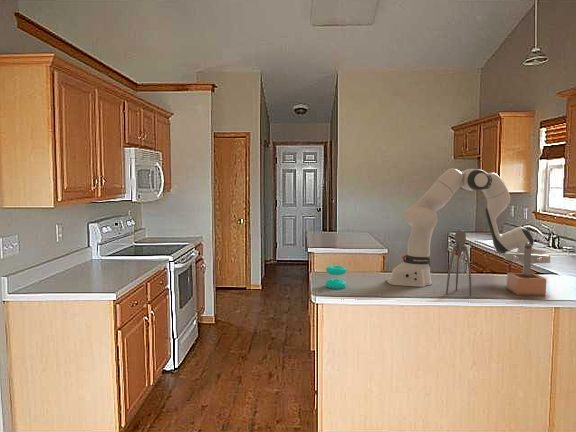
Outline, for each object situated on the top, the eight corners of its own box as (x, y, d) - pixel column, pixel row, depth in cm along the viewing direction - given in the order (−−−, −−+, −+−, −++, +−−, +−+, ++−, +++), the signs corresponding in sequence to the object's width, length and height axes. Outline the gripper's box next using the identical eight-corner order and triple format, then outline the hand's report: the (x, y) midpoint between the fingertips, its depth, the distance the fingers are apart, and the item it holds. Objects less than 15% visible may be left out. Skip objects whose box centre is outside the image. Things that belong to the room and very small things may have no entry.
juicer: (471, 295, 241) (474, 231, 238) (446, 294, 244) (448, 230, 241) (468, 291, 251) (471, 228, 248) (444, 289, 253) (446, 227, 250)
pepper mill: (519, 290, 248) (522, 243, 246) (519, 288, 253) (522, 241, 251) (531, 292, 246) (534, 243, 244) (530, 289, 251) (533, 242, 249)
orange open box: (516, 295, 243) (517, 278, 243) (506, 288, 256) (507, 272, 256) (545, 296, 243) (546, 279, 242) (533, 289, 256) (534, 273, 255)
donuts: (342, 264, 260) (349, 268, 251) (341, 284, 261) (349, 289, 252) (323, 265, 258) (330, 269, 248) (322, 285, 258) (329, 290, 249)
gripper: (504, 247, 265) (504, 251, 253) (549, 250, 257) (551, 254, 245) (503, 259, 266) (503, 264, 253) (548, 263, 258) (550, 268, 245)
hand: (527, 259), depth 249 cm, fingers open, 8 cm apart
